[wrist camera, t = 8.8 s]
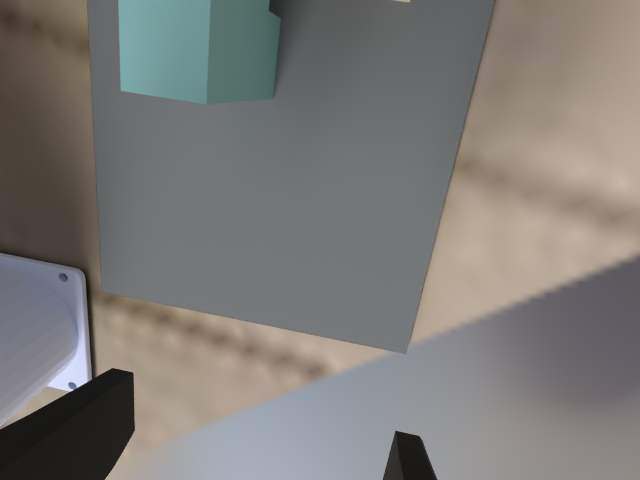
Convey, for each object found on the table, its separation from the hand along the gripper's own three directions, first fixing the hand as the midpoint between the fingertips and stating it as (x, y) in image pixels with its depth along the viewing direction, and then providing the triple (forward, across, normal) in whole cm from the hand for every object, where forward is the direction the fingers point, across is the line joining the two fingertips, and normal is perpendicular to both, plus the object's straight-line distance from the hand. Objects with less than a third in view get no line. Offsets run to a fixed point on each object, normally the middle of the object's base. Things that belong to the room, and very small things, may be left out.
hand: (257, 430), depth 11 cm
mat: (+10, +3, -7) cm, 12 cm away
